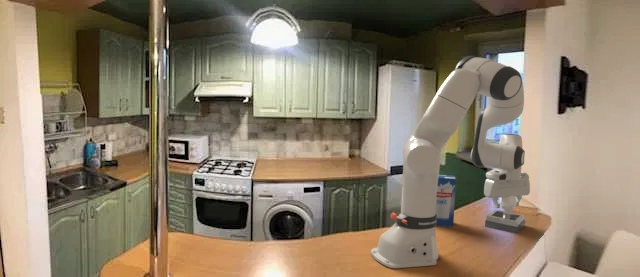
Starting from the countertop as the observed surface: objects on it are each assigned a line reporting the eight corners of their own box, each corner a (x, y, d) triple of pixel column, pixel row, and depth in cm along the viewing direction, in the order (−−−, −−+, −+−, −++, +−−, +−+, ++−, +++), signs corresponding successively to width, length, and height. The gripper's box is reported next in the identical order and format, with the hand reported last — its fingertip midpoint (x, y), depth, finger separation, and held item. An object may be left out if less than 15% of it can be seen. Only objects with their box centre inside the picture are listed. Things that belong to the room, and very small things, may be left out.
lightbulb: (498, 221, 152) (501, 195, 151) (496, 216, 158) (498, 191, 157) (516, 223, 150) (518, 196, 149) (513, 218, 156) (515, 192, 155)
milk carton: (452, 222, 158) (454, 175, 156) (453, 226, 153) (456, 178, 150) (427, 219, 161) (429, 174, 159) (428, 224, 155) (430, 177, 153)
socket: (517, 233, 146) (517, 222, 145) (484, 226, 154) (485, 215, 153) (524, 225, 155) (525, 215, 154) (494, 219, 163) (494, 209, 162)
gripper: (522, 170, 158) (520, 202, 159) (482, 173, 152) (480, 206, 153) (535, 173, 152) (532, 207, 153) (493, 176, 146) (491, 211, 147)
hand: (506, 206), depth 153 cm, fingers open, 8 cm apart
